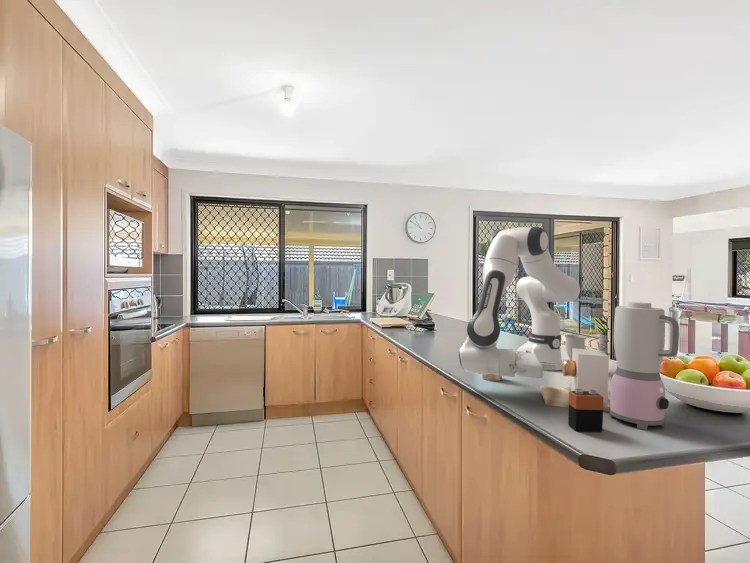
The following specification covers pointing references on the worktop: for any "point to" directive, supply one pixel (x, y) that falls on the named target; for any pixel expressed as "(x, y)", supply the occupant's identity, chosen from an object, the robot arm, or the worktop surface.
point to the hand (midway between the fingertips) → (555, 366)
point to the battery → (585, 411)
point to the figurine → (492, 377)
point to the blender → (641, 363)
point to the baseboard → (561, 397)
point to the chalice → (574, 342)
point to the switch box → (591, 371)
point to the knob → (569, 368)
